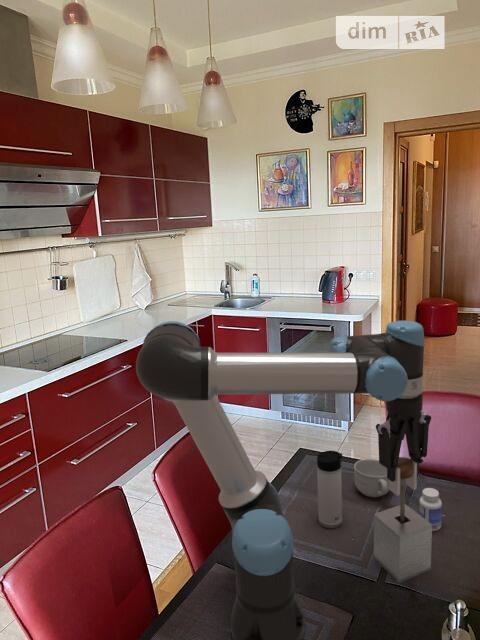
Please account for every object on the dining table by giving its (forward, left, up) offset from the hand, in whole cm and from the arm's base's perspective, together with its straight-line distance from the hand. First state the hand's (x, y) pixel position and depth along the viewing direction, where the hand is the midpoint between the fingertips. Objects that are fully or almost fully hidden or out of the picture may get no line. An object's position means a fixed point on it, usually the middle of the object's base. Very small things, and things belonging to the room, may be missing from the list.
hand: (402, 489), depth 111 cm
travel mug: (-6, +21, -20) cm, 30 cm away
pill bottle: (+16, +8, -20) cm, 27 cm away
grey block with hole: (0, +1, -20) cm, 20 cm away
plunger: (0, 0, -11) cm, 11 cm away
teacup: (+12, +26, -20) cm, 35 cm away
